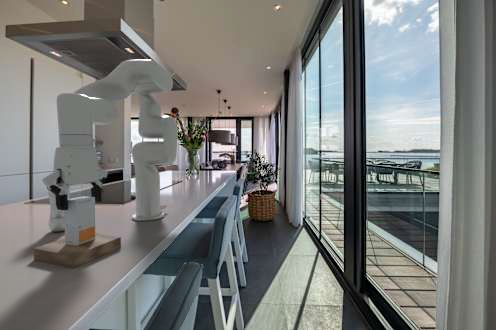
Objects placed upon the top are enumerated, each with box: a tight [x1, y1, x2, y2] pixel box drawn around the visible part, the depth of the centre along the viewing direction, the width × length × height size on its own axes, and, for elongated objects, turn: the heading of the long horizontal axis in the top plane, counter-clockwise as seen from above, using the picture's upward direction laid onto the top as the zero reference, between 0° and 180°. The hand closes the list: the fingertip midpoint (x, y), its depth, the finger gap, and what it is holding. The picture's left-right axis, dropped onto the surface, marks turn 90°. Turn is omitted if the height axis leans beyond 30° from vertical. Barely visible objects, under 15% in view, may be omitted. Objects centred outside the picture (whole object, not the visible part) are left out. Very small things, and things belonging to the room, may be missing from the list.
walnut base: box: [33, 233, 122, 269], centre depth 69 cm, size 14×14×3 cm
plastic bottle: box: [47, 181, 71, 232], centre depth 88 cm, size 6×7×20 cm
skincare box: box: [64, 195, 97, 246], centre depth 69 cm, size 6×4×12 cm
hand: (80, 205), depth 69 cm, fingers open, 9 cm apart
